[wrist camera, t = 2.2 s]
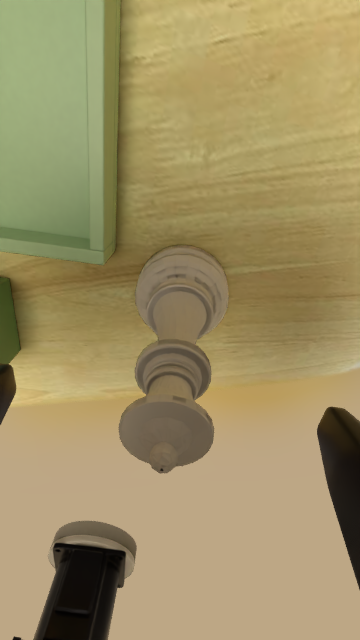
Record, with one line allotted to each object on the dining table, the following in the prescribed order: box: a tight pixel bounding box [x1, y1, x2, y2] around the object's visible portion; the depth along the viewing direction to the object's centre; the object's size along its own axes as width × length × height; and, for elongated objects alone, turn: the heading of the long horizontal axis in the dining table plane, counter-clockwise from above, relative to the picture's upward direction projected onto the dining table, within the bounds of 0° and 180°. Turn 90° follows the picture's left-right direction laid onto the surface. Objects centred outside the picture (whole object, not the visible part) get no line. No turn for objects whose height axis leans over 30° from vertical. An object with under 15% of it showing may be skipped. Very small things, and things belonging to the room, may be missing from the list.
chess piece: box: [119, 245, 229, 473], centre depth 11 cm, size 4×4×10 cm
